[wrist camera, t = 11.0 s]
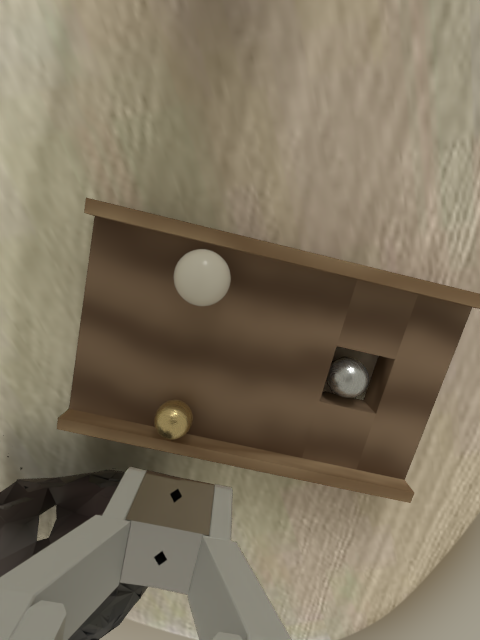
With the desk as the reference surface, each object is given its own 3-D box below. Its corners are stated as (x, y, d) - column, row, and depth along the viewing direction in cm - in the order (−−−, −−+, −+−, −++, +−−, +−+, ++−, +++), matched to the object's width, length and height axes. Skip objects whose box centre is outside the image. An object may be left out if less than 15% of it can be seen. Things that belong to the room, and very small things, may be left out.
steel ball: (360, 368, 22) (382, 367, 24) (325, 350, 25) (348, 351, 27) (346, 407, 23) (368, 403, 25) (313, 386, 26) (336, 384, 28)
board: (111, 208, 24) (86, 197, 20) (453, 291, 25) (493, 297, 21) (83, 405, 27) (56, 429, 23) (387, 470, 29) (410, 502, 25)
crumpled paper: (10, 555, 30) (206, 537, 30) (-198, 808, 15) (188, 761, 16) (-9, 424, 28) (197, 409, 29) (-258, 563, 14) (167, 525, 15)
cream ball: (185, 244, 22) (173, 240, 18) (236, 257, 22) (236, 255, 18) (175, 295, 23) (162, 302, 19) (225, 307, 23) (222, 316, 19)
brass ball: (163, 390, 24) (152, 407, 21) (198, 397, 24) (192, 416, 21) (157, 422, 25) (146, 443, 22) (191, 429, 25) (185, 451, 22)
